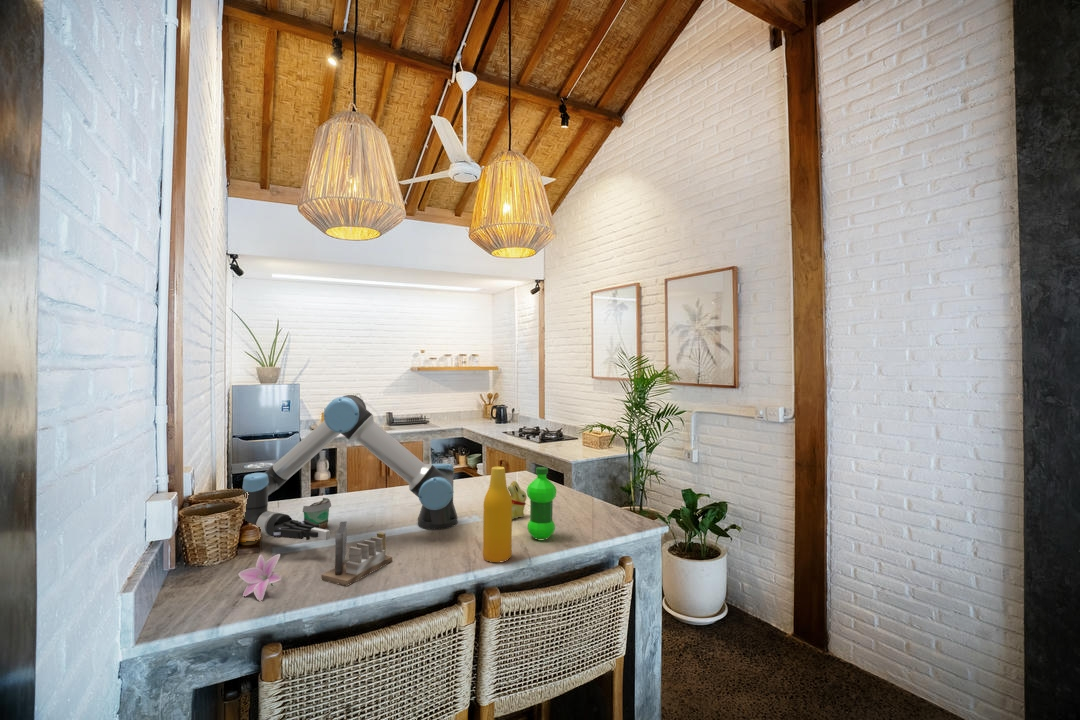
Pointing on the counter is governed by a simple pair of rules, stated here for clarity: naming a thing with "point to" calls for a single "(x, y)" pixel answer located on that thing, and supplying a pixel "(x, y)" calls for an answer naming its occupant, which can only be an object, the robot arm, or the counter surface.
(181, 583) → the counter surface
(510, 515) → the beer bottle
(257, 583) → the lily
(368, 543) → the grey model on base
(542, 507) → the plastic bottle
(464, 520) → the counter surface
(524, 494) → the chocolate bunny
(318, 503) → the food container
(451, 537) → the counter surface
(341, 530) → the grey stone panel
